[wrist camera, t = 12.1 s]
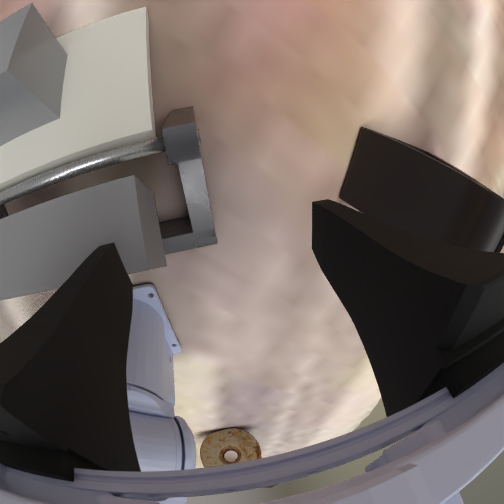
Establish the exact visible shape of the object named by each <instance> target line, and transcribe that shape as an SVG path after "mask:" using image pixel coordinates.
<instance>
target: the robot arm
mask: <svg viewBox="0 0 504 504" xmlns="http://www.w3.org/2000/svg"><path fill="white" fill-rule="evenodd" d="M312 250H313V252H314V254H315V257H316V259H317V261H318V263H319V265H320V268H321V270H322V271H323V273H324V275H325V276H326V278H327V280H328V281H329V283H330V284H331V286H332V288H333V289H334V291H335V292H336V294H337V296H338V297H339V299H340V300H341V302H342V304H343V305H344V307H345V308H346V310H347V312H348V313H349V315H350V317H351V319H352V321H353V323H354V325H355V327H356V329H357V332H358V334H359V336H360V338H361V341H362V343H363V345H364V348H365V350H366V353H367V355H368V358H369V361H370V363H371V366H372V369H373V372H374V375H375V378H376V380H377V383H378V386H379V390H380V393H381V397H382V400H383V404H384V407H385V411H386V415H387V418H384V419H382V420H380V421H378V422H375V423H373V424H370V425H368V426H366V427H363V428H361V429H358V430H355V431H353V432H350V433H347V434H345V435H342V436H339V437H336V438H333V439H330V440H327V441H324V442H321V443H318V444H315V445H312V446H308V447H305V448H301V449H298V450H294V451H290V452H286V453H283V454H278V455H274V456H270V457H266V458H261V459H256V460H251V461H246V462H240V463H234V464H228V465H222V466H214V467H206V468H197V469H195V467H196V445H195V440H194V436H193V433H192V431H191V429H190V428H189V426H188V425H187V423H186V422H185V420H184V419H183V418H181V417H179V416H174V405H175V389H174V370H173V354H178V353H181V351H182V348H181V346H180V344H179V341H178V339H177V337H176V335H175V333H174V331H173V328H172V326H171V324H170V322H169V319H168V317H167V315H166V313H165V310H164V308H163V306H162V303H161V301H160V299H159V296H158V294H157V291H156V289H155V287H154V286H153V285H152V284H145V285H140V286H134V287H133V285H132V283H131V281H130V278H129V276H128V274H127V272H126V269H125V267H124V265H123V262H122V260H121V258H120V255H119V253H118V251H117V248H116V246H115V243H109V244H105V245H101V246H99V247H98V248H96V249H95V250H94V251H93V252H92V253H91V254H90V255H89V256H88V257H87V258H86V259H85V260H84V261H83V262H82V264H81V265H80V266H79V267H78V268H77V269H76V270H75V271H74V272H73V274H72V275H71V276H70V277H69V278H68V279H67V280H66V281H65V283H64V284H63V285H62V286H61V287H60V288H59V289H58V290H57V291H56V292H55V293H54V294H53V296H52V297H51V298H50V299H49V300H48V301H47V302H46V303H45V304H44V305H43V306H42V307H41V308H40V309H39V310H38V311H37V312H36V313H35V314H34V315H33V316H32V317H31V318H30V319H29V320H28V321H26V322H25V323H24V324H23V325H22V326H21V327H19V328H18V329H17V330H16V331H15V332H14V333H13V334H11V335H10V336H9V337H8V338H7V339H5V340H4V341H3V342H1V343H0V504H186V502H187V497H193V496H205V495H214V494H222V493H231V492H237V491H243V490H249V489H254V488H260V487H265V486H270V485H274V484H279V483H283V482H287V481H291V480H294V479H298V478H302V477H306V476H309V475H312V474H316V473H319V472H322V471H325V470H328V469H331V468H334V467H337V466H340V465H343V464H345V463H348V462H351V461H353V460H356V459H358V458H361V457H363V456H366V455H368V454H370V453H373V452H375V451H378V450H380V449H382V448H384V447H386V446H389V445H391V444H393V443H395V442H397V441H399V440H401V439H403V438H404V439H403V440H401V441H399V442H398V443H396V444H394V445H392V446H391V447H389V448H387V449H385V450H384V452H383V454H382V456H380V457H379V458H378V459H377V460H375V461H374V462H372V463H370V464H369V465H367V466H366V468H365V471H366V473H364V474H361V475H359V476H356V477H353V478H350V479H347V480H344V481H342V482H339V483H336V484H333V485H329V486H326V487H323V488H320V489H317V490H313V491H310V492H306V493H303V494H299V495H295V496H291V497H287V498H283V499H278V500H274V501H269V502H264V503H259V504H464V503H463V500H462V498H461V496H460V493H459V491H460V490H461V489H462V488H464V487H465V486H466V485H467V484H468V483H469V482H471V481H472V480H473V479H474V478H475V477H476V476H477V475H479V474H480V473H481V472H482V471H483V470H484V469H485V468H486V467H487V466H488V465H489V464H490V463H491V462H492V461H493V460H494V459H495V458H496V457H497V456H498V455H499V454H500V453H501V452H502V451H503V450H504V253H497V252H487V251H480V250H474V249H468V248H463V247H458V246H454V245H449V244H446V243H442V242H438V241H434V240H431V239H427V238H424V237H421V236H418V235H415V234H412V233H409V232H406V231H403V230H401V229H398V228H396V227H393V226H391V225H388V224H386V223H383V222H381V221H379V220H376V219H374V218H372V217H369V216H367V215H365V214H363V213H361V212H358V211H356V210H354V209H352V208H349V207H347V206H345V205H342V204H340V203H337V202H335V201H332V200H328V199H327V200H321V201H315V202H312ZM149 293H152V294H153V295H150V294H149ZM407 436H408V437H407ZM405 437H406V438H405Z"/></svg>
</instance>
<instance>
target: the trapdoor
mask: <svg viewBox="0 0 504 504" xmlns="http://www.w3.org/2000/svg"><path fill="white" fill-rule="evenodd" d="M56 39H57V40H58V42H59V43H60V45H61V46H62V48H63V49H64V50H65V52H66V53H67V55H68V56H67V62H66V68H65V75H64V82H63V90H62V100H61V111H60V119H57V120H55V121H52V122H50V123H48V124H45V125H43V126H41V127H38V128H36V129H34V130H32V131H30V132H28V133H25V134H23V135H21V136H19V137H17V138H15V139H13V140H11V141H9V142H8V143H6V144H4V145H2V146H0V192H1V191H3V190H5V189H8V188H10V187H12V186H14V185H16V184H19V183H21V182H23V181H26V180H28V179H30V178H33V177H35V176H38V175H40V174H43V173H45V172H48V171H50V170H53V169H55V168H58V167H61V166H64V165H66V164H69V163H72V162H75V161H78V160H81V159H84V158H87V157H90V156H93V155H96V154H99V153H102V152H106V151H109V150H112V149H116V148H119V147H123V146H126V145H130V144H134V143H137V142H141V141H145V140H149V139H153V138H156V129H155V119H154V109H153V97H152V84H151V69H150V48H149V16H148V12H147V8H146V7H143V8H139V9H135V10H131V11H128V12H124V13H121V14H118V15H115V16H111V17H108V18H105V19H102V20H99V21H97V22H94V23H91V24H89V25H86V26H83V27H81V28H78V29H76V30H73V31H71V32H69V33H66V34H64V35H62V36H60V37H57V38H56ZM109 243H115V246H116V248H117V251H118V253H119V255H120V258H121V260H122V262H123V265H124V267H125V269H126V272H127V274H131V273H135V272H140V271H145V270H150V269H155V268H160V267H165V266H167V264H166V259H165V254H164V249H163V243H162V238H161V232H160V226H159V221H158V214H157V208H156V202H155V195H154V193H153V192H152V191H151V190H150V189H149V188H148V187H146V186H145V185H144V184H143V183H142V182H141V181H140V180H139V179H138V178H137V177H136V176H135V175H132V176H128V177H124V178H120V179H117V180H113V181H109V182H106V183H102V184H99V185H96V186H92V187H89V188H86V189H82V190H79V191H76V192H73V193H70V194H67V195H64V196H61V197H58V198H55V199H52V200H49V201H46V202H44V203H41V204H38V205H35V206H33V207H30V208H27V209H25V210H22V211H19V212H17V213H14V214H12V215H9V216H7V217H5V218H2V219H0V300H5V299H9V298H14V297H19V296H24V295H29V294H33V293H38V292H43V291H48V290H53V289H58V288H60V287H61V286H62V285H63V284H64V283H65V281H66V280H67V279H68V278H69V277H70V276H71V275H72V274H73V272H74V271H75V270H76V269H77V268H78V267H79V266H80V265H81V264H82V262H83V261H84V260H85V259H86V258H87V257H88V256H89V255H90V254H91V253H92V252H93V251H94V250H95V249H96V248H98V247H99V246H101V245H105V244H109Z"/></svg>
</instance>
